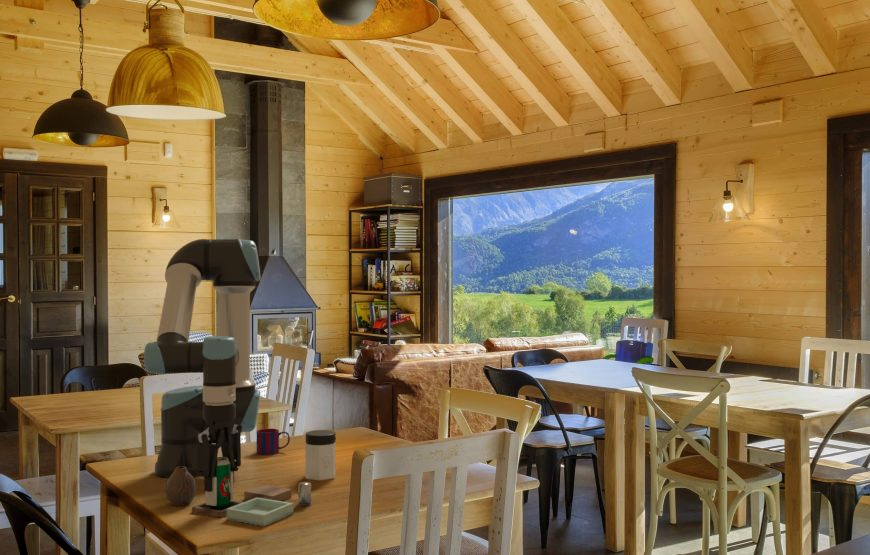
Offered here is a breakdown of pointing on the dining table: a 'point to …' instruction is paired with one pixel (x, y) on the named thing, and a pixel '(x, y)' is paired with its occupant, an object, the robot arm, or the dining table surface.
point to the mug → (269, 441)
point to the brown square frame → (204, 509)
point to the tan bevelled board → (268, 493)
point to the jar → (320, 455)
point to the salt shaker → (304, 494)
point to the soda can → (223, 484)
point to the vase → (180, 487)
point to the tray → (260, 511)
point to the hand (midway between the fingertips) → (219, 501)
